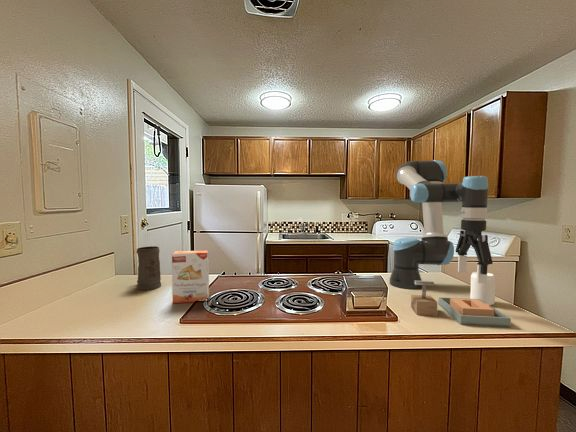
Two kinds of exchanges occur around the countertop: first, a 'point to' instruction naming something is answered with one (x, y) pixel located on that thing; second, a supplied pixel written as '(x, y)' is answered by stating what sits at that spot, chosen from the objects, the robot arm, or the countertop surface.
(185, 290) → the cracker box
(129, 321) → the countertop surface
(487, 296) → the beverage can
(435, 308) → the block
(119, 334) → the countertop surface
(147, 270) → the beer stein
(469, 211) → the robot arm
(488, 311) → the orange square frame
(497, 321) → the tray
